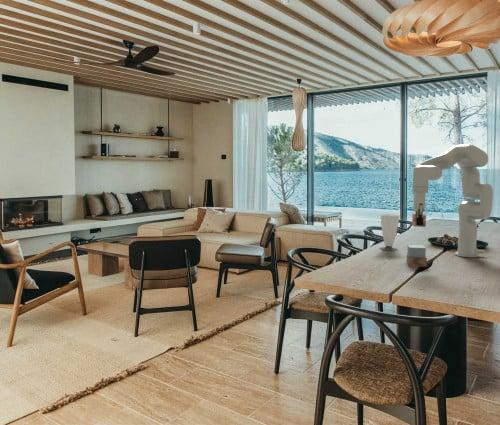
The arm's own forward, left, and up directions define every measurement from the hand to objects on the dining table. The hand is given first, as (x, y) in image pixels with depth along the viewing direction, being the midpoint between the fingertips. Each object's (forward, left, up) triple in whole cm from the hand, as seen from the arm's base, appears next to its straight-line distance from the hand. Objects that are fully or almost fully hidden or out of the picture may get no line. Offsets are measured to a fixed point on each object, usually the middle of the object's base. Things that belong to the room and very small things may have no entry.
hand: (418, 224), depth 235 cm
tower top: (+1, 0, -17) cm, 17 cm away
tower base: (0, 0, -22) cm, 22 cm away
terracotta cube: (0, 0, -1) cm, 1 cm away
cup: (+12, -43, -22) cm, 50 cm away
